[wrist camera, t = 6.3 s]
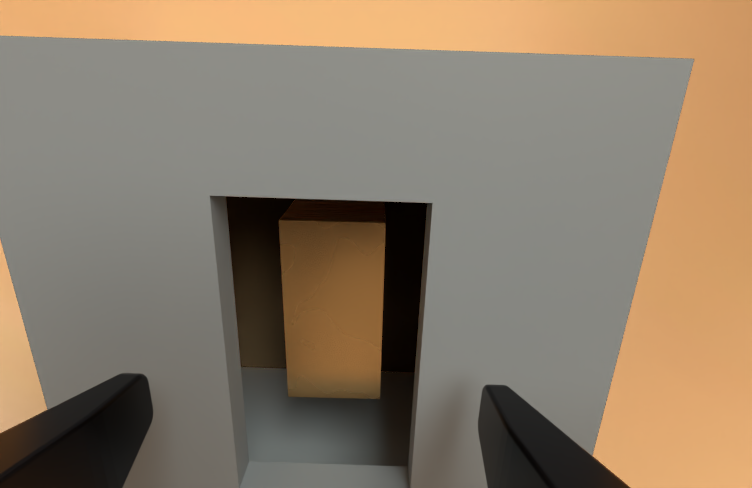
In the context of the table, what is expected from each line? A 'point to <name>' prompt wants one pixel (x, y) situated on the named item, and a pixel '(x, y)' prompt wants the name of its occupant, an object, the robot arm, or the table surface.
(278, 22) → the table surface
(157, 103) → the box
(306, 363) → the block
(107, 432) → the robot arm
